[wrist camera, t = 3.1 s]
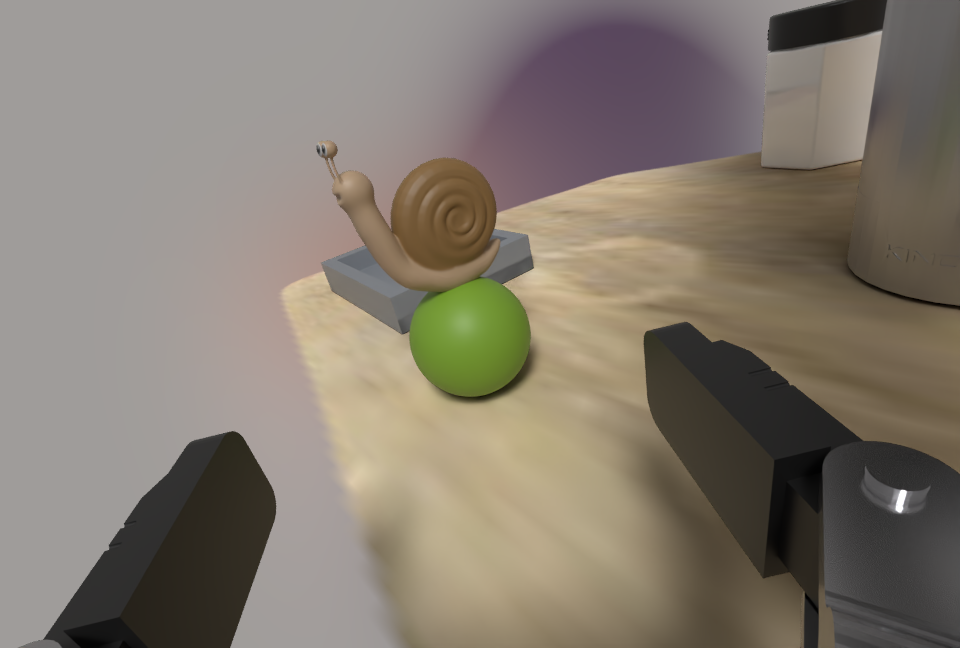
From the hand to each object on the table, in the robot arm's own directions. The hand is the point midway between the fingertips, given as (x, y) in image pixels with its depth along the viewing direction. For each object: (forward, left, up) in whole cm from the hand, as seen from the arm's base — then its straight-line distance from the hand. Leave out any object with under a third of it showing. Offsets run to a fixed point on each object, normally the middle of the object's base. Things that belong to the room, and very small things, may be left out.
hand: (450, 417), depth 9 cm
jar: (-47, -13, -7) cm, 49 cm away
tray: (-12, -25, -7) cm, 28 cm away
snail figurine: (-6, -10, -7) cm, 13 cm away
